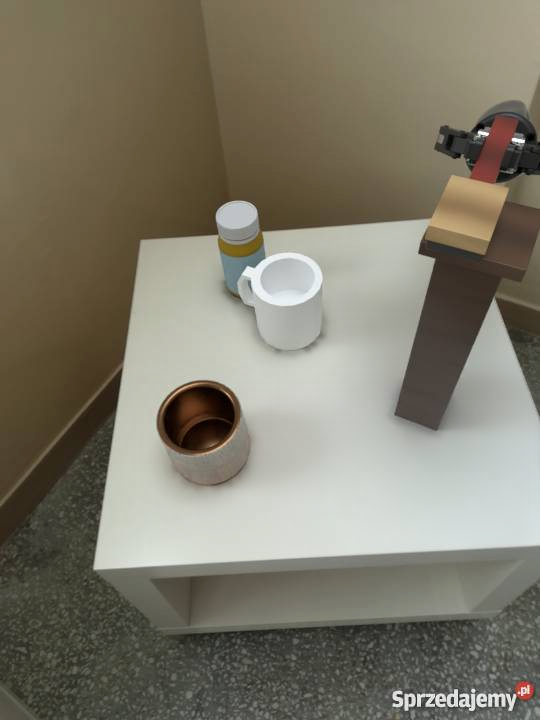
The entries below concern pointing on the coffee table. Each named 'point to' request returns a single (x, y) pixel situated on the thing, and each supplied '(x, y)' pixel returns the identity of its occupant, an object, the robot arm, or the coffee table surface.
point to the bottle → (239, 241)
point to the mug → (285, 299)
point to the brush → (473, 200)
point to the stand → (461, 312)
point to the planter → (204, 431)
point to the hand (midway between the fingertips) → (491, 155)
